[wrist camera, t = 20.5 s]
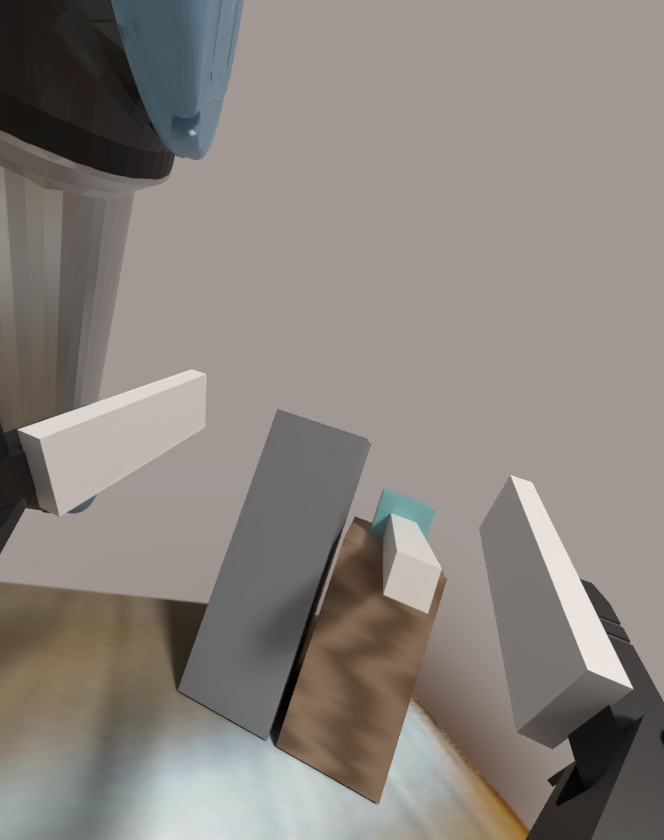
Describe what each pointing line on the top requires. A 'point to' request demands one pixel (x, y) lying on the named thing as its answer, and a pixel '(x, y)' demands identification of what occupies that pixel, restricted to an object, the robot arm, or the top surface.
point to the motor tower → (274, 571)
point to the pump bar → (406, 549)
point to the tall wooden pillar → (357, 671)
